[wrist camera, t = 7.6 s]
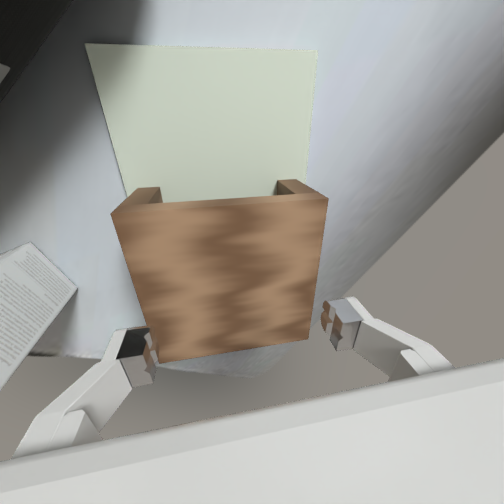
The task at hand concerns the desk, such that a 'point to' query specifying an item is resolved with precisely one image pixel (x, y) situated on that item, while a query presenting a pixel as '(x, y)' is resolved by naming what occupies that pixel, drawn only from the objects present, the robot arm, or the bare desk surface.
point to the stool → (224, 267)
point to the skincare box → (27, 303)
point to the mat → (206, 117)
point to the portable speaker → (24, 34)
